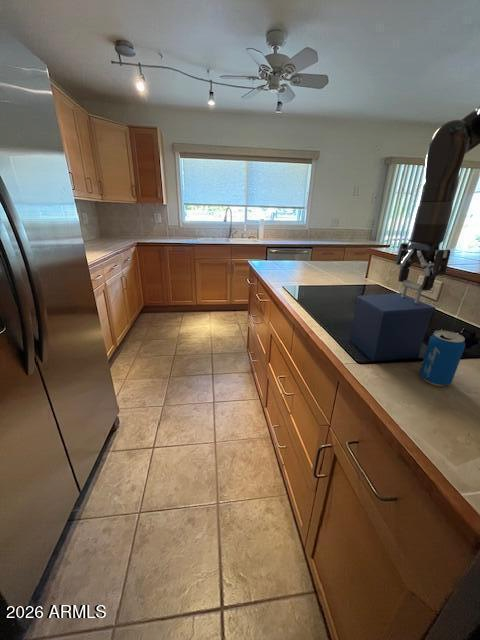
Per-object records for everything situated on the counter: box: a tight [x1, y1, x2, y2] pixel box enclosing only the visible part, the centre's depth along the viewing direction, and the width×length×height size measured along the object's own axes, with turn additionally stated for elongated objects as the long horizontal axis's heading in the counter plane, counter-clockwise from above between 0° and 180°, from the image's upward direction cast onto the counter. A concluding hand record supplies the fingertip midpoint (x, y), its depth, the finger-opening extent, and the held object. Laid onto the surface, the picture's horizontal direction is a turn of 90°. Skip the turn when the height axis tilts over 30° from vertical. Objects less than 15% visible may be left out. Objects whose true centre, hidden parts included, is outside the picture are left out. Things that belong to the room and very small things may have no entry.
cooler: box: [349, 299, 433, 363], centre depth 75 cm, size 14×13×14 cm
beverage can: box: [419, 329, 466, 387], centre depth 61 cm, size 6×6×12 cm
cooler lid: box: [355, 279, 436, 315], centre depth 71 cm, size 14×13×6 cm
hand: (413, 285), depth 71 cm, fingers open, 8 cm apart
